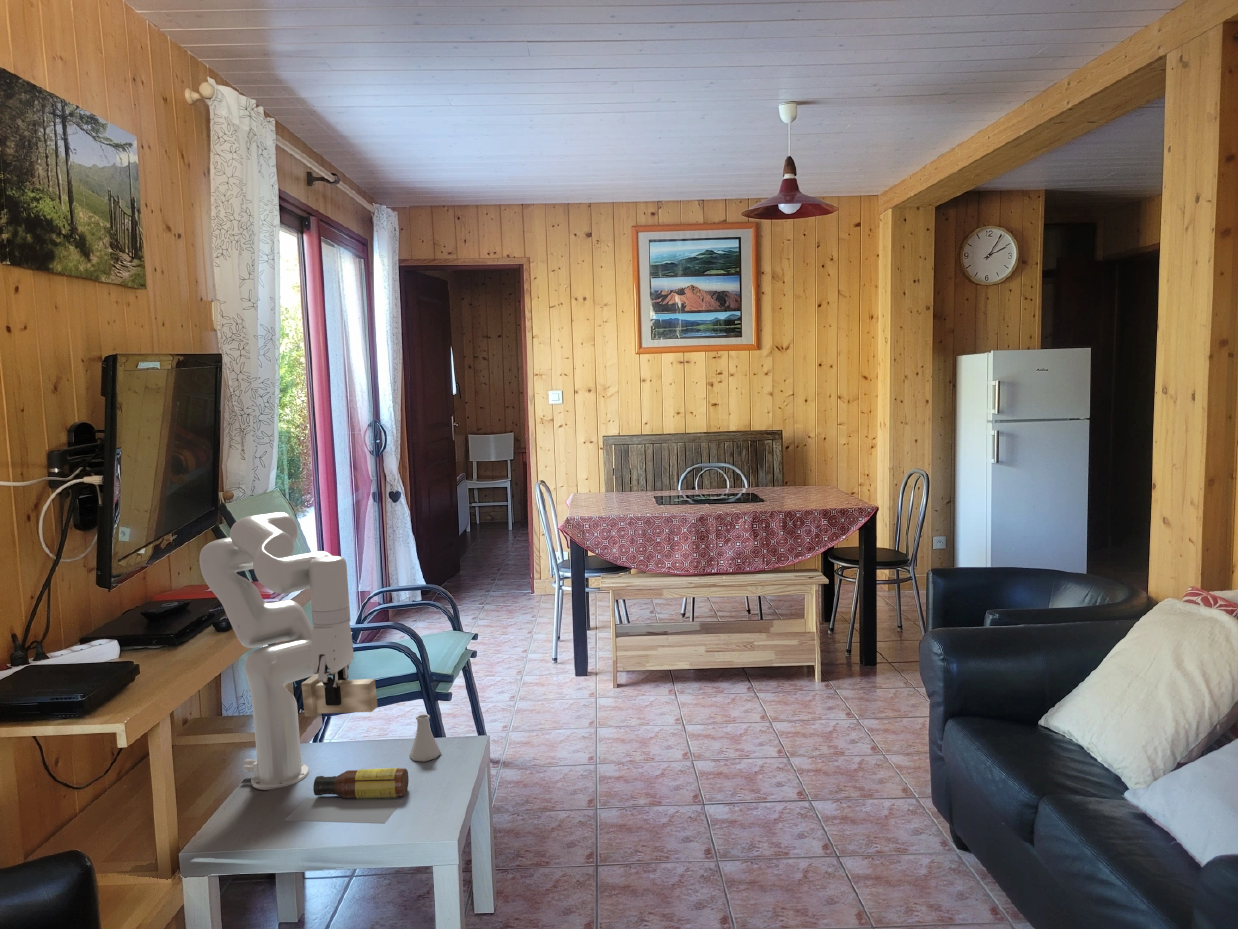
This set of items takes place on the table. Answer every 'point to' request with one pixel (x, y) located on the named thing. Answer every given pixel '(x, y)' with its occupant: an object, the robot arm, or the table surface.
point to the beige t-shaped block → (353, 696)
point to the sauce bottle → (364, 784)
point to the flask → (424, 741)
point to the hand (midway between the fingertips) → (337, 701)
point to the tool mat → (344, 810)
